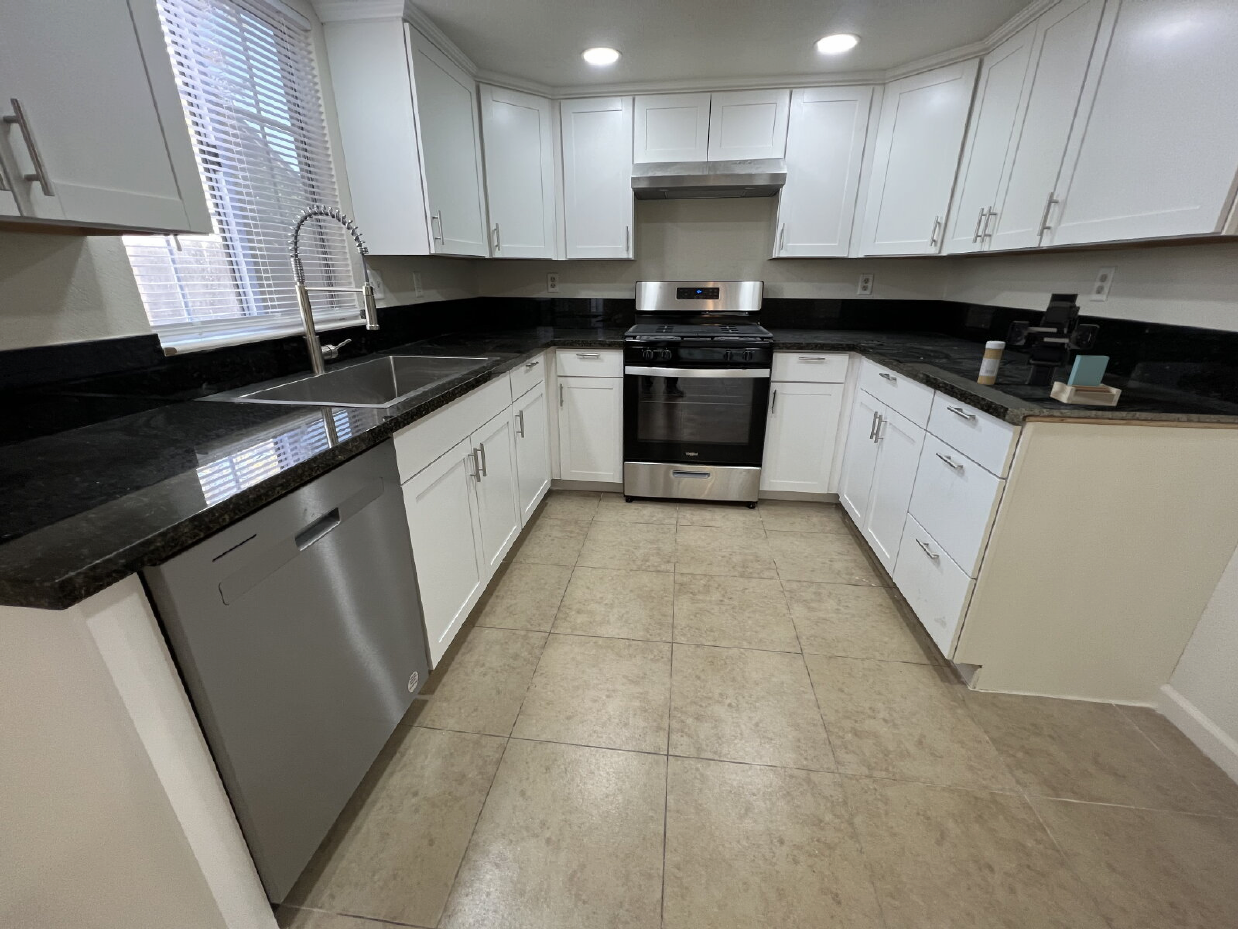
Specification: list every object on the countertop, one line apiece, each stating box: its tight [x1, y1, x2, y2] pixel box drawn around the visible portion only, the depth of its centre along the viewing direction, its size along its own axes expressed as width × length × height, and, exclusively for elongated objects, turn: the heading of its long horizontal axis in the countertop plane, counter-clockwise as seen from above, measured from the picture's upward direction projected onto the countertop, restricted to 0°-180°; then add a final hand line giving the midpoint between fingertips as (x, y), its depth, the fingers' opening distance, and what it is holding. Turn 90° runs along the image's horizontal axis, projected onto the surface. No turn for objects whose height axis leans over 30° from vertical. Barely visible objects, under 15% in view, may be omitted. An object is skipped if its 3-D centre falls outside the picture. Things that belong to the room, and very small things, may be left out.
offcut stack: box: [1069, 385, 1110, 393], centre depth 129 cm, size 3×8×4 cm, turn 73°
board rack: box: [1050, 381, 1122, 407], centre depth 130 cm, size 8×11×5 cm
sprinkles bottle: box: [976, 340, 1006, 386], centre depth 150 cm, size 5×5×14 cm
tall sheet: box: [1066, 354, 1110, 386], centre depth 130 cm, size 2×6×12 cm, turn 73°
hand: (1046, 338), depth 129 cm, fingers open, 9 cm apart
